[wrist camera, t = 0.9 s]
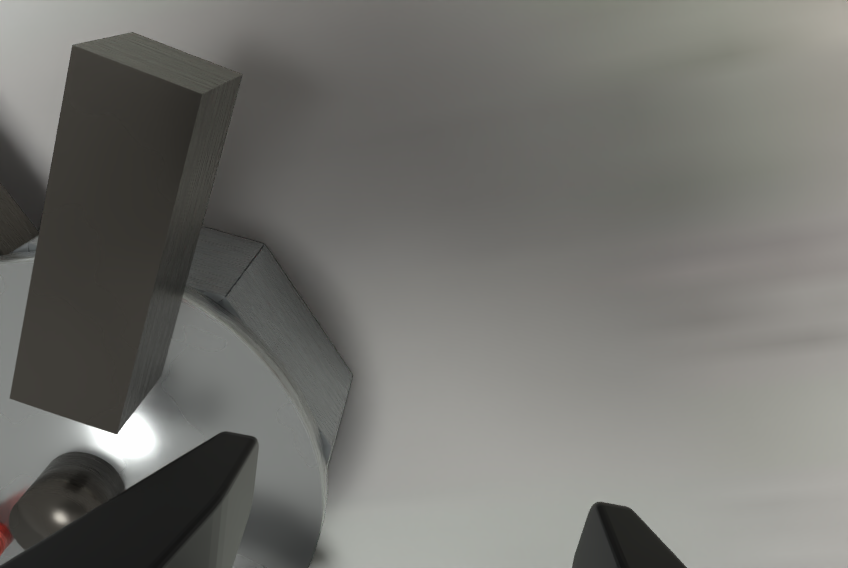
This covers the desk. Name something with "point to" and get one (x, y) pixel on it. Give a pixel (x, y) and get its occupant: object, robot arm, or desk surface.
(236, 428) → the lid
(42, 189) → the desk surface
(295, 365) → the pot
